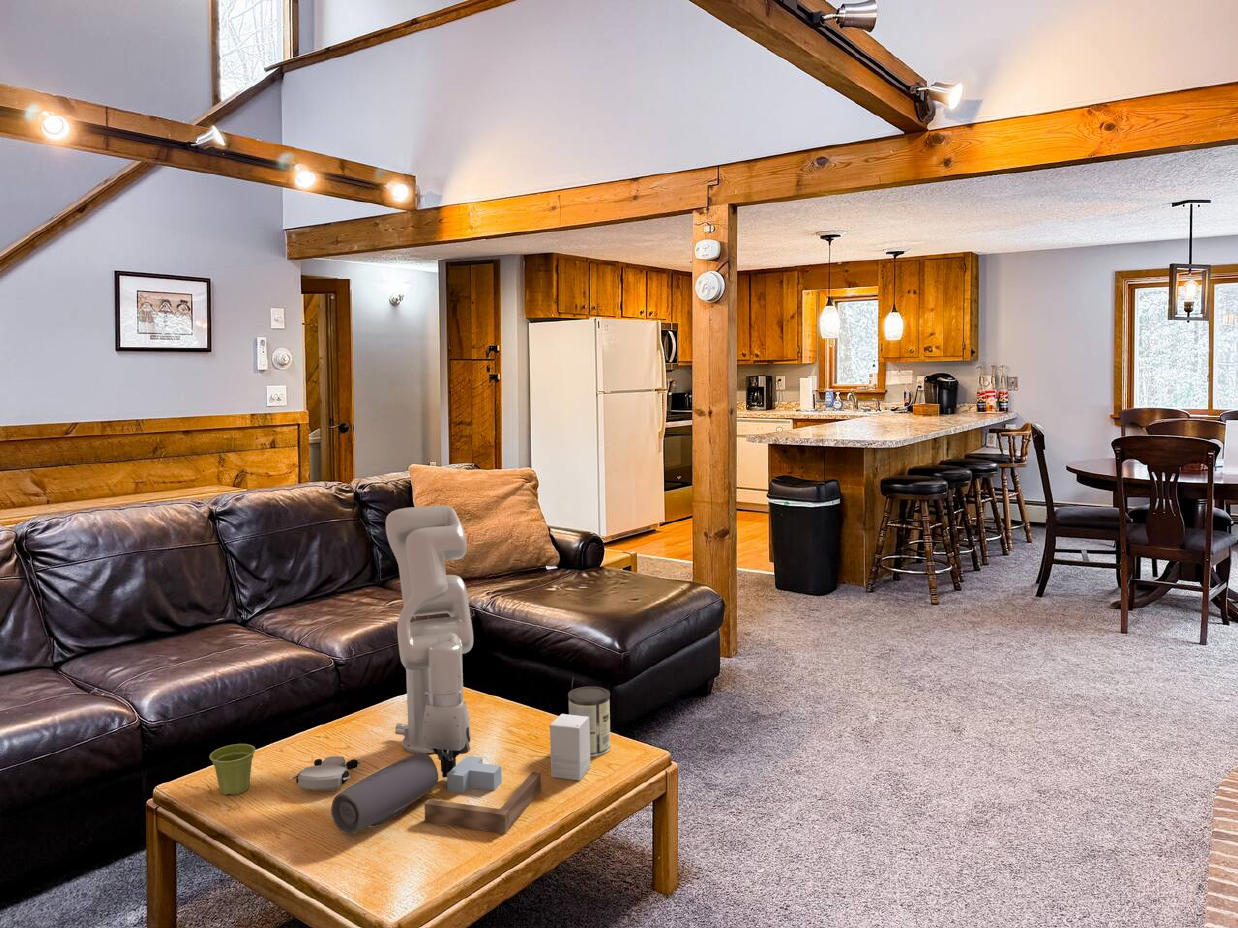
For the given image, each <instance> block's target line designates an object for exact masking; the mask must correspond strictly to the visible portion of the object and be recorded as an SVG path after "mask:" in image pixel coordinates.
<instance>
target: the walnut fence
mask: <svg viewBox="0 0 1238 928" xmlns="http://www.w3.org/2000/svg"><path fill="white" fill-rule="evenodd" d="M541 791H542V772H538V771H532V772H530V774H529V775H528V776H527V777H526V779H524V781H523V782H522V783H521V784H520V785H519V787H518V788H516V790H515V791H514V792H513V793H512V794H511V796H510V797H509V798H508V799H507V800H506V801H505V803H504V804H503V805H502V806H501V807H500V808H495V807H487V806H482V805H481V806H480V805H473V804H465V803H459V802H452V801H443V800H438V799H428V800H426V802H425V803H424V823H428V824H429V823H430V824H436V825H442V826H451V827H456V828H463V829H470V830H475V831H476V830H477V831H484V832H491V833H498V834H507V833H508V831H509V830H510V829H511V828H512V827H513V825H514V824H515V823H516V822H517V820H518V819H519V818H520V817H521V815H522V814H523V813H524V812H525V810H526V809H527V808H528V807H529V806H530V805H531V804H532V802H533V800H534V799H535V798H536V797H537V796H538V794H540V792H541Z"/></svg>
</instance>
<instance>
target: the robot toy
mask: <svg viewBox="0 0 1238 928" xmlns="http://www.w3.org/2000/svg"><path fill="white" fill-rule="evenodd" d="M362 762H363V761H362V760H361V759H355V758H353V759H351V760H348V761H346V758H345V757H344V756H337V755H332V756H328V757H327V756H326V757H325V758H324V759H322V758H317V759H314V762H313V765H311V766H307V767H305V768H304V769H302V770H301V771H299V773H298V774H297V775H295V776H292V777H290V778H289V780H293V779H296V781H295V782H296V784H297V785H298V787H300V788H301V789H304V790H307V791H321V790H322V791H323V790H327V791H336V790H338V789H339V788H341V787H342V786H343V785H345V784H346V783H347V781H349V780H350V779H351V775H350V771H349V770H355V769H357V768H358V766H359V765H361V764H362Z"/></svg>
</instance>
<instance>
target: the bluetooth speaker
mask: <svg viewBox="0 0 1238 928" xmlns="http://www.w3.org/2000/svg"><path fill="white" fill-rule="evenodd" d="M439 777H440V776H439V772H438V767H437V765H436V763H435V762H434V759H433V758H432V756H430V754H428V753H413V754H411V755H409V756H407V757H404V758H402V759H400V760H397V761H396V762H394V763H392V764H389V765H388V766H385V767H384V768H383V767H382V768H381V769H379V770H377V771H375V772H373V773H371V774H370V775H368V776H366V777H364V778H362V779H361V780H359V781H357V782H355V783H354V784H352V785H350V786H348V787H347V788H345V789H344V790H342V791H341V792H339V793H338V794H336V795H335V796H334V798H333V800H332V803H331V809H330V811H331V816H332V820H333V822H334V824H335V826H336V827H337V828H338V829H339V830H340V831H341V832H343V833H346V834H347V835H353V834H356V833H359V832H360V831H363V830H365V829H367V828H369V827H371V828H375V827H378V826H380V825H382V824H384V823H386V822H388V821H390V820H392V819H393V818H395V817H397V816H398V815H400V814H402V813H403V812H404V811H406V810H407V809H408V808H409V805H410V804H412V803H414V802H415V801H418V799H420V798H421V797H423V796H424V795H426V794H427V793H429V792H430V791H431V790H432V789H433V788H435V786H436V785H437V784H438V781H439Z"/></svg>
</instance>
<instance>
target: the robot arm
mask: <svg viewBox="0 0 1238 928" xmlns="http://www.w3.org/2000/svg"><path fill="white" fill-rule="evenodd" d="M385 533H386V537H387V541H388V544H389V547H390V549H391V552H392V553H393V556H394V557H395V560H396V562H397V564H398V572H399V580H400V589H401V595H402V597H401V599H402V602H403V607H402V609H401V611H400V614H399V616H398V621H397V629H396V631H397V642H398V650H399V657H400V662H401V665H403V667H404V668H405V671H406V672H405V673H406V676H405V677H406V695H407V696H406V697H407V698H406V702H407V706H406V707H407V724H405V723H402V722H401V723H396V725H395V731H394V732H395V735H398V736H399V735H400V736H403V737H404V738H403V739H402V742H401V745H402V748H403V749H404V751H407V752H409V753H412V754H417V753H425V754H433V753H435V754H436V755H437V758H438V760H439V761H440V772H441V777H442V778H447V773H448V772H450V771H451V770H452V769H453V768H454V767H455V766H456V765H457V760H456V759H457V757H458V756H459V755H464V754H468V753H469V752H470V751H471V746H470V743H471V738H472V737H471V722H470V715H469V711H468V706H467V702H466V701H464V682H463V681H464V678H463V677H464V676H463V675H464V673H463V671H464V670H463V654H467V653H469V652H470V651H471V650H472V648H473V646H474V645H473V644H474V630H473V623H472V617H471V610H470V605H469V596H468V591H467V586H466V584H465V582H464V580H463V579H462V577H460V576H459V575H456V574H447V571H446V565H445V561H453V560H455V561H456V560H461V559H463V558H464V557H465V556H466V554H467V549H468V541H467V537H466V532H465V529H464V527H463V525H462V523H461V521H460V518H459V516H458V514H457V512H456V510H455V509H454V508H453V507H451V506H450V505H429V506H415V507H414V506H413V507H404V508H398V509H395V510H393V511H390V513H389V514H387V516H386V518H385ZM438 614H448V615H449V616H447V617H438V618H436V617H435V618H430V619H429V618H428V619H420V620H415V621H412V618H413V616H414V617H415V616H416V617H418V616H419V617H421V616H430V615H438ZM411 621H412V622H411Z"/></svg>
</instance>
